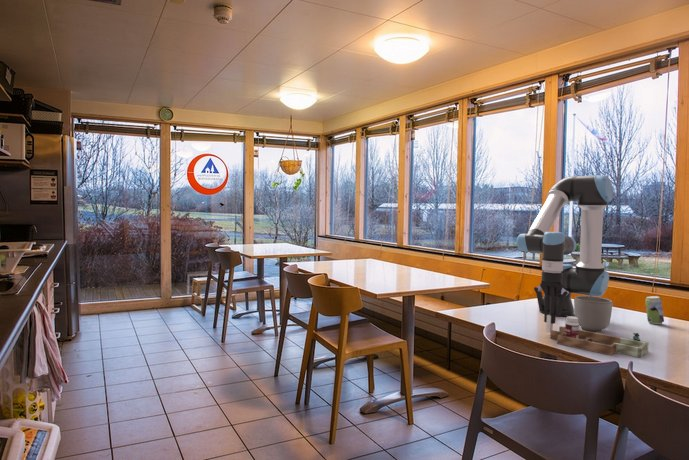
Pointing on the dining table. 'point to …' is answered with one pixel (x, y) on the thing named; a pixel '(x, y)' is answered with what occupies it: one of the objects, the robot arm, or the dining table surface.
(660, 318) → the beverage can
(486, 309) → the dining table surface
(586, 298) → the planter
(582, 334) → the open divided box
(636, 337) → the sculpture
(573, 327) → the pill bottle
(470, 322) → the dining table surface
